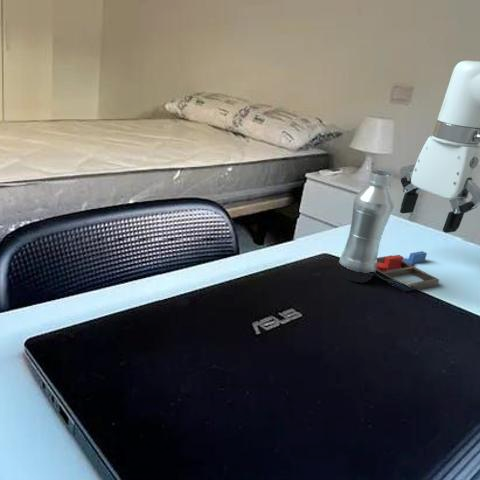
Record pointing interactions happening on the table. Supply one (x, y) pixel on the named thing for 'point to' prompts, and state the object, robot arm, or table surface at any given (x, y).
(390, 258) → the red stepped block
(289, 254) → the table surface
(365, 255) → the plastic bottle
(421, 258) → the blue stepped block
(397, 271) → the cutlery tray
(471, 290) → the table surface
